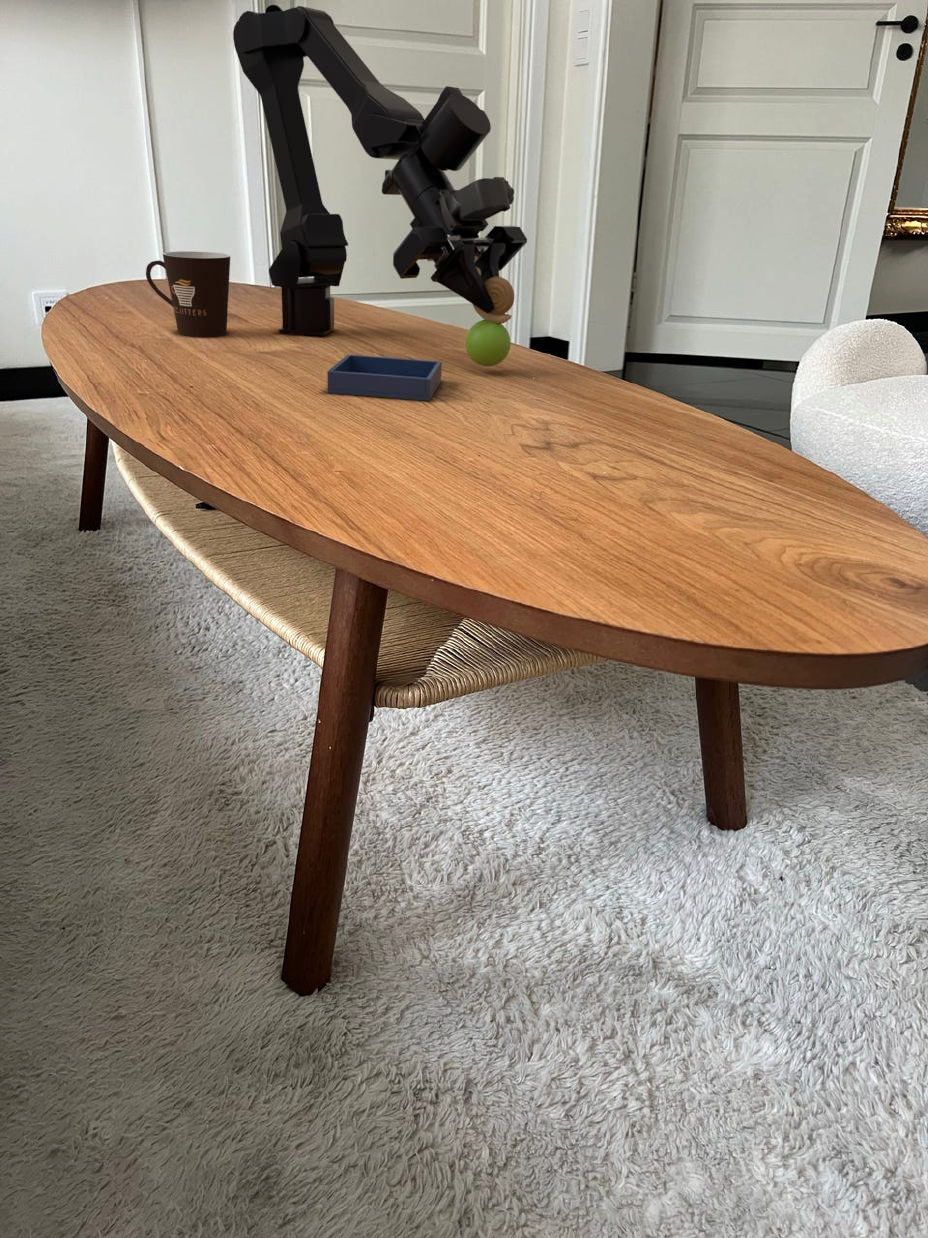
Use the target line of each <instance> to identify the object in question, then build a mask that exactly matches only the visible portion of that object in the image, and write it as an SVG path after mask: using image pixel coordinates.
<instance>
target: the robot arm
mask: <svg viewBox="0 0 928 1238" xmlns="http://www.w3.org/2000/svg"><path fill="white" fill-rule="evenodd" d="M232 36H233V37H232V40H233V46H234V49H235V52H236V55H237V58H238V61H239V64H240V67H241V70H242V72H243V74H244V75H245V77H246V78H247V80H248V81H249V82H250V83H251V86H253V87H254V88H255V90H256V92H258V94H259V96H260V100H261V105H262V109H263V114H264V118H265V123H266V127H267V130H268V135H269V139H270V144H271V149H272V153H273V158H274V162H275V166H276V170H277V175H278V180H279V184H280V189H281V193H282V198H283V201H284V207H285V214H284V218H283V221H282V224H281V228H280V231H279V237H280V245H281V249H280V251H279V253H278V254H277V256H276V258H275V259H274V260H273V262H272V264H271V265H270V267H269V268H268V274H269V278H270V282H271V285H272V287H273V286H274V287H278V288H281V289H280V290H281V291H280V292H281V315H282V316H281V319H282V326H281V327H280V328H279V329H278V333H282V334H295V335H307V336H318V337H319V336H321V337H324V336H326V335H327V334H329V333H331V332H332V331H333V330H334V329H335V298H334V297H332V296H331V287H339V286H340V284H341V280H342V275H343V273H344V268H345V263H346V262H347V257H348V253H347V248H346V247H348V246H349V242H348V240H347V239H346V235H345V231H344V223H343V222H344V221H343V219H342V217H341V215H340V213H330V212H329V210H328V209H327V208H326V206H325V205H324V203H323V200H322V194H321V189H320V185H319V181H318V176H317V173H316V167H315V163H314V158H313V153H312V149H311V143H310V140H309V134H308V130H307V126H306V121H305V116H304V112H303V107H302V102H301V97H300V93H299V85H300V82H301V78H302V75H303V72H304V68H305V60H304V59H305V58H308V59H309V60H310V62H311V63H312V64H313V65H314V67H315V68H316V69H317V71H318V72H319V73H320V74H321V75H322V77H323V78H324V80H325V81H326V82H327V83H328V84H329V86H330V87H331V88H332V90H333V91H334V92H335V94H336V95H337V96H338V97H339V99H340V100H341V101H342V102H343V104H344V105H345V107H346V108H347V109H348V112H349V113H350V115H351V127H352V130H353V132H354V134H355V136H356V138H357V140H358V142H359V143H360V145H361V147H362V149H363V150H364V152H365V153H366V154H367V155H368V156H369V157H371V158H372V159H378V160H380V159H381V160H393V161H395V160H397V162H396V163H395V165H394V166H393V168H392V169H386V170H385V171H384V179H383V182H382V185H381V193H382V194H383V195H384V196H385V195H389V196H390V195H391V196H401V197H402V198H403V200H404V201H405V204H406V205H407V207H408V209H409V211H410V213H411V214H412V216H413V217H414V218H413V219H412V220H411V222H410V223H409V225H410V227H411V229H410V232H409V233H408V234H407V235H406V236H405V238H404V239H403V240H402V242H401V243H400V245H399V246H398V247H397V248H396V249H395V250H394V252H393V254H392V256H393V257H392V266H393V268H394V270H395V271H396V273H397V275H398V277H399V278H400V280H401V279H402V280H403V279H416V278H417V277H418V276H419V275H420V271H421V268H420V266H419V264H418V261H419V260H424V261H425V260H427V262H433V263H434V265H433V266H434V268H435V271H434V273H432V275H431V276H430V280H431V281H432V282H433V283H438V284H440V285H441V286H443V287H445V288H447V289H448V290H450V291H451V292H453V293H455V294H457V295H458V296H460V297H461V298H463V299H464V300H466V301H468V302H469V303H470V304H472V306H473V305H475V306H476V307H478V308H479V309H481V310H482V311H484V312H485V313H487V314H489V313H491V312H492V311H493V310H494V305H493V302H492V300H491V297H490V295H489V293H488V291H487V289H486V287H485V285H484V282H485V281H486V280H488V279H489V278H492V277H500V271H502V270H503V269H504V268H505V267H506V266H507V264H509V263H510V261H512V259H513V258H514V257H515V256H516V255H517V254H518V253H519V252H520V251H521V249H522V248H523V247H525V245H526V244H527V243H528V238H527V237H526V235H525V233H524V231H523V230H522V228H521V226H518V225H517V226H516V225H494V226H493V227H492V229H490V231H489V232H488V233H487V234H486V235H485V236H484V237H480V235H479V234H480V233H481V232H484V231H485V229H487V227H488V226H489V223H488V219H489V218H491V217H494V216H496V215H497V214H499V213H501V212H504V213H505V212H507V211H509V210H510V209H511V205H512V204H513V203H514V200H515V197H514V195H515V190H514V188H513V187H511V185H510V183H509V181H508V180H506V178H505V177H504V176H494V177H493V178H491V177H490V178H489V177H484V178H483V177H482V178H479V179H476V180H474V181H472V182H470V183H468V184H467V185H465V186H464V187H461V188H460V189H455V188H454V186H453V184H452V183H451V181H450V179H449V177H448V175H447V174H446V172H447V171H452V172H457V171H460V170H461V169H462V168H463V167H464V166H465V164H466V163H467V161H469V159H470V158H471V156H473V154H474V153H475V152H476V150H477V149H478V148H479V146H481V144H482V143H483V141H484V140H485V139H486V137H487V136H488V135H489V134H490V132H491V130H492V126H491V122H490V118H489V117H488V114H487V113H486V112H485V111H484V110H483V109H481V108H480V107H479V106H478V105H477V104H476V103H475V102H474V101H473V100H471V99H470V98H469V97H467V96H465V95H463V93H462V91H461V90H460V88H459V87H455V86H447V85H446V86H445V87H444V88H443V90H442V91H441V93H440V95H439V97H438V99H437V101H436V102H435V104H434V105H433V107H432V108H431V110H430V111H429V112H428V113H427V116H426V117H424V116H423V115H422V113H421V112H420V111H419V110H418V109H417V108H416V107H414V106H413V105H412V104H411V103H410V102H408V101H407V100H406V98H404V97H402V96H400V95H399V94H397V93H395V92H393V91H392V90H389V89H388V88H387V87H385V86H384V85H383V84H382V83H381V82H380V81H379V80H378V78H376V76H375V75H374V73H373V72H372V71H371V70H370V68H369V66H367V65H366V63H365V62H364V60H362V59H361V57H360V56H359V54H358V53H357V52H356V51H355V49H354V48H353V47H352V46H351V44H350V43H349V42H348V41H347V39H345V37H344V36H343V34H342V33H341V32H340V30H338V28H337V27H336V26H335V23H334V20H333V18H332V16H331V15H330V14H329V13H327V12H326V11H325V10H321V9H316V8H311V7H307V6H302V5H298V6H295V7H291V8H289V9H284V10H279V11H270V12H269V11H268V12H255V11H251V10H246V11H244V12H243V13H242V14H241V15H240V16H239V18H238V20H237V22H235V24H234V26H233V32H232ZM475 256H477V258H478V259H477V260H476V261H475ZM476 267H478V268H479V269H480V271H481V276H480V275H479V273H478V270H477V268H476Z"/></svg>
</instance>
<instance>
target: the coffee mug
mask: <svg viewBox="0 0 928 1238" xmlns="http://www.w3.org/2000/svg"><path fill="white" fill-rule="evenodd" d="M162 258H163V261H162V260H152V261H151V262H149V263H148V264H147V265H146V269H145V276H146V280H147V283H148V284H149V286H150V287H151V289H152V290H153V291H154V292H155V293H156V295H158V296H159V297H160V298H161V299H162V300H163V301H165V302H166V303H167V304H168V305H169V306H171V307H172V308H173V314H174V319H175V323H176V328H177V329H176V330H177V334H179V335H181V336H185V337H193V338H194V337H195V338H213V337H214V338H215V337H222V336H225V335H227V332H228V331H227V330H228V329H227V328H228V311H229V292H230V291H229V289H230V273H231V255H230V254H227V253H221V252H214V251H213V252H212V251H211V252H210V251H196V250H195V251H193V250H191V251H190V250H189V251H187V250H183V251H181V250H180V251H178V250H177V251H166V252H163V253H162ZM155 266H161V267H162V268H164V269H165V273H166V277H167V283H168V288H169V293H170V297H168V296H167V295H166V294H165V293H164V292H162V291H161V290H160V289H159V288H158V287H157V285H156V284H155V283H154V281H153V280H152V275H151V272H152V269H153V268H154V267H155Z"/></svg>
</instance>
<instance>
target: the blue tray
mask: <svg viewBox="0 0 928 1238" xmlns="http://www.w3.org/2000/svg"><path fill="white" fill-rule="evenodd" d="M442 365H443V363H442V361H437V360H428V359H427V360H426V359H425V360H424V359H413V358H402V357H401V358H399V357H388V356H387V357H385V356H376V355H375V356H373V355H362V354H361V355H360V354H349V353H348V354H347V355H344V357H343V358H341V359H340V360H339V361H338V362H336V364H334V365H333V366H331V368H330V369H328V371H327V375H326V376H327V379H326V380H327V393H328V394H334V395H345V396H346V395H348V396H349V395H350V396H360V397H371V398H372V397H373V398H384V399H385V398H386V399H396V400H397V399H398V400H407V401H408V400H410V401H422V402H430V401H431V400H432V398H433V396H434V394H435V393H436V391H437V389H438V388H439V386H440V384H441V382H442V368H443V367H442Z"/></svg>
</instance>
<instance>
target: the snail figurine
mask: <svg viewBox="0 0 928 1238" xmlns="http://www.w3.org/2000/svg"><path fill="white" fill-rule="evenodd" d="M477 259H478V258H477V256H475V261H476V260H477ZM476 268H477V270H478V273H479V275H480V276H481V271H480V269H479V268H478V267H476ZM484 285H485V287H486V289H487V291H488V293H489V295H490V297H491V300H492V302H493V305H494V310H493V311H492V312H491V313H489V314H487V313H485V312H484V311H482V310H481V309H479V308H478V307H476V306H475V305H473V304H472V307H473V310H474V311H475V312H476V313H477V315H478V316H480V317H481V318H482V320H479V321H476V322H475V323H474V324H473V325H472V326H471V327H470V328H469V330H468V332H467V334H466V337H465V349H466V352H467V355H468V356H469V358H470V359H471V360H472V361H473V362H474V363H475V364H477V365H479V366H482V367H494V366H498V365H499V364H501V363H502V362H503V361H504V360H505V359H506V358H507V356H508V354H509V353H510V349H511V343H512V342H511V337H510V333H509V331H508V329H507V328H506V326H504V325H503V324H505V323H507V322H508V321H509V320H511V319H512V317H513V315H511V314H509V313H508V314H506V313H507V312H509V311H510V310H511V309H512V307H513V306H514V303H515V292H514V291H515V290H514V288H513V285H512V284H511V282H509V280H508V279H507V278H504V277H502V276H499V277H492V278H489V279H488V280H486V281H485V282H484Z"/></svg>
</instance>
